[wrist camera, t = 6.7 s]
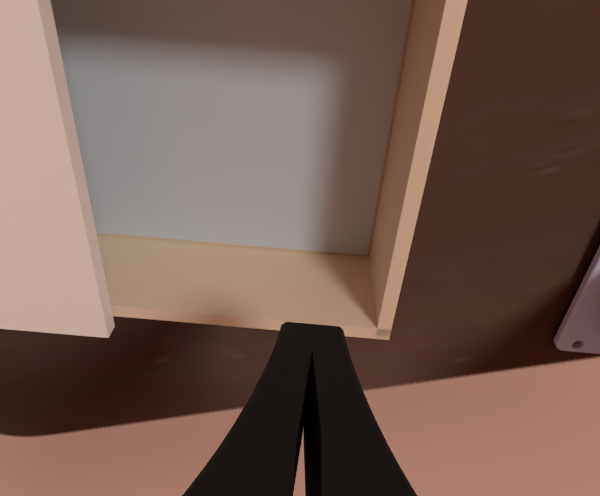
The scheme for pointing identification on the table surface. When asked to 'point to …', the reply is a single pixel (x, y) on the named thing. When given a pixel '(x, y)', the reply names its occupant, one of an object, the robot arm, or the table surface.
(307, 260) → the box
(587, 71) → the table surface
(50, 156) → the lid
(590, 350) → the robot arm
